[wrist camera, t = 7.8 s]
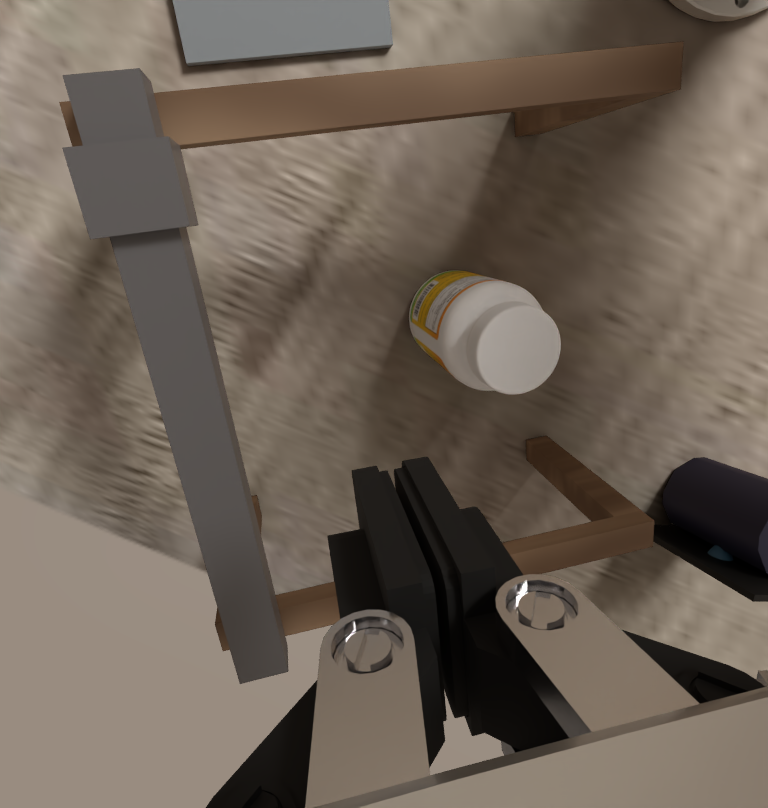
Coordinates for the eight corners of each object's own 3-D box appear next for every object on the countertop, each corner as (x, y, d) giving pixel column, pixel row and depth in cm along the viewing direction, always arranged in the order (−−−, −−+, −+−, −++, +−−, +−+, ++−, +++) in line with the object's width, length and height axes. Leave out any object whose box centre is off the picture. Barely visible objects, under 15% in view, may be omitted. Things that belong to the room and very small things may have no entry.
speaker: (685, 554, 42) (813, 637, 32) (630, 527, 40) (747, 606, 30) (736, 470, 41) (883, 528, 31) (683, 440, 40) (820, 491, 30)
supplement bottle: (498, 346, 33) (581, 393, 24) (416, 367, 33) (470, 424, 24) (486, 259, 31) (572, 275, 22) (399, 280, 31) (451, 305, 22)
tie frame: (142, 147, 26) (59, 102, 16) (540, 103, 29) (683, 41, 19) (237, 520, 34) (222, 651, 24) (546, 455, 37) (652, 546, 26)
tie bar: (66, 89, 16) (39, 71, 14) (164, 80, 16) (150, 62, 14) (232, 658, 23) (229, 696, 22) (296, 642, 24) (298, 678, 22)
